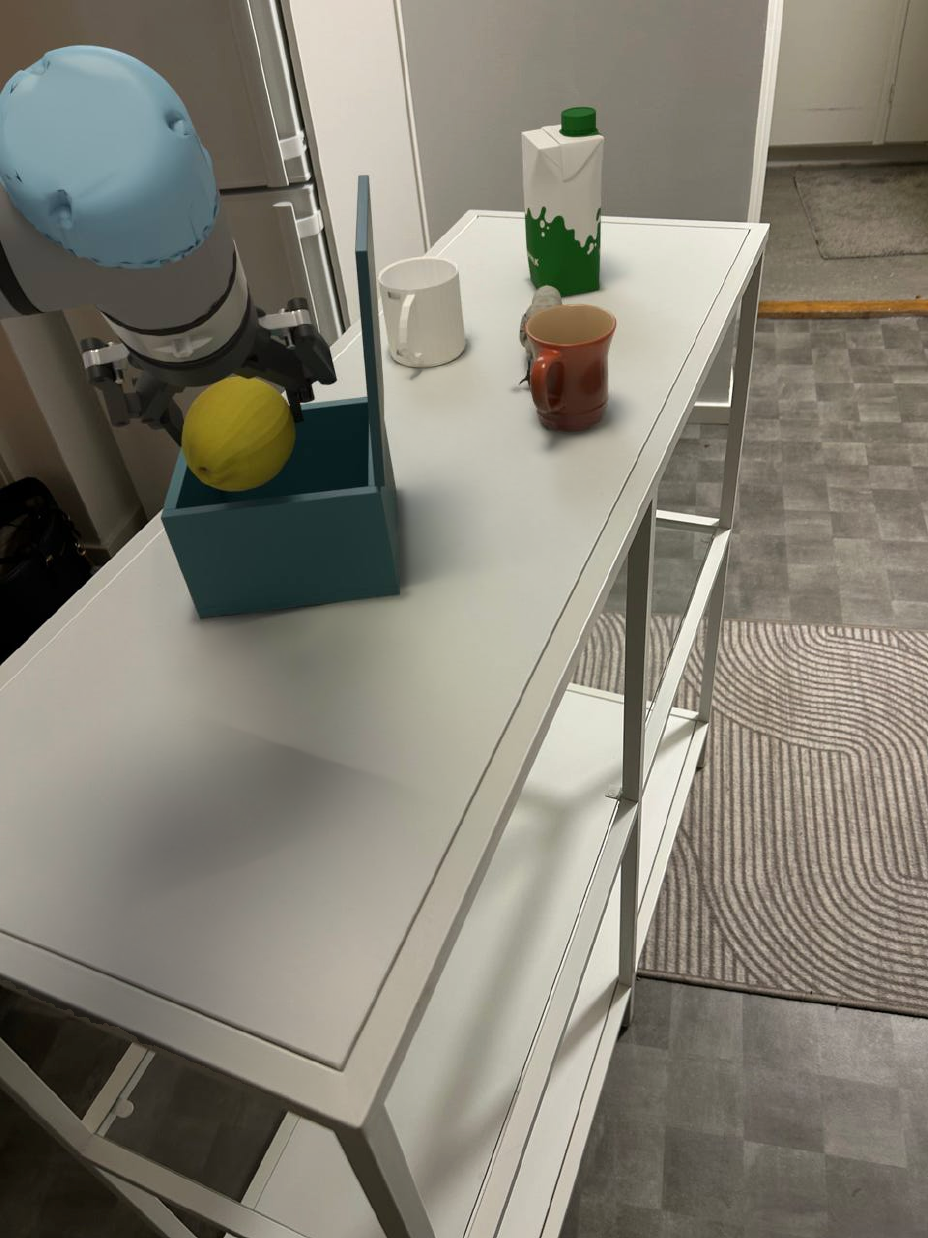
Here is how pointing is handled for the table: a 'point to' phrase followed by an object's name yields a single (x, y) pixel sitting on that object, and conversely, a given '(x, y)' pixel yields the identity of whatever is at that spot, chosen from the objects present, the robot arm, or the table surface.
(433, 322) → the mug
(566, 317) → the mug
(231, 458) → the lemon
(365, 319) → the lid
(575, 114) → the soya milk
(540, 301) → the decorative bird
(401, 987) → the table surface
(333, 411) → the teal box
